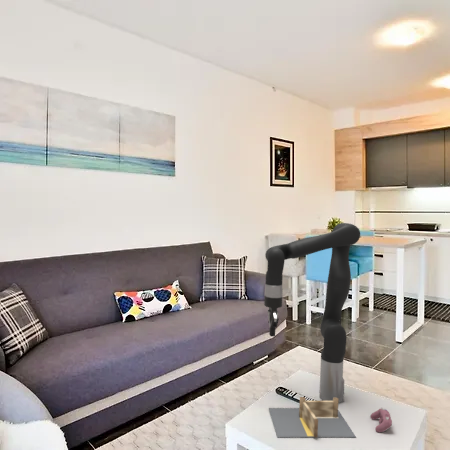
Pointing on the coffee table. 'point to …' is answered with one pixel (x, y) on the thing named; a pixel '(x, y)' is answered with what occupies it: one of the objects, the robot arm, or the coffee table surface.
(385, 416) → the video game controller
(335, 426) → the card
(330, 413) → the wooden toy fence
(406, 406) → the coffee table surface
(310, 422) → the fence panel
